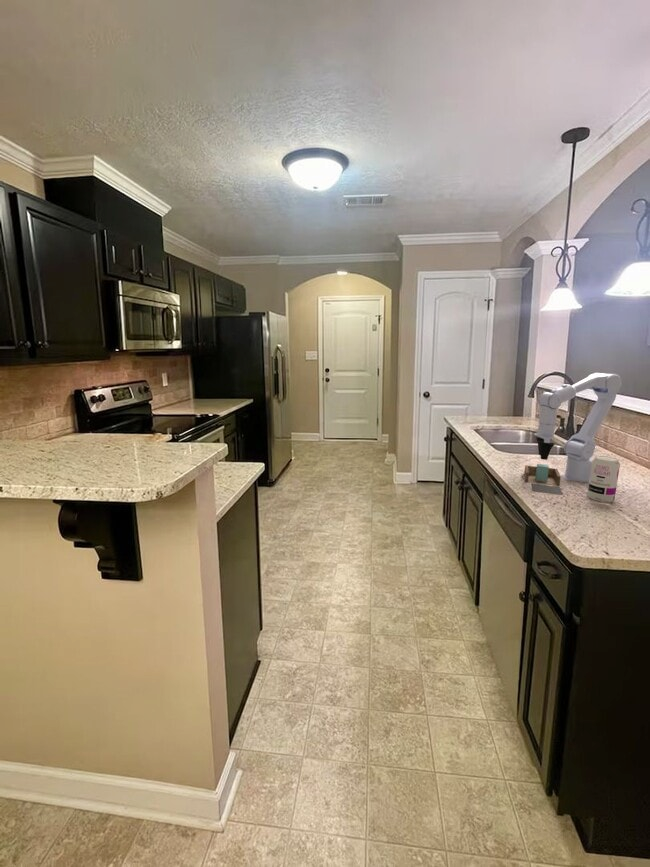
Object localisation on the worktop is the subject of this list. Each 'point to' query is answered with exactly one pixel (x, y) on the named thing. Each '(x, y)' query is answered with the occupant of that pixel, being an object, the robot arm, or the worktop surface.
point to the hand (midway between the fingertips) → (542, 457)
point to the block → (542, 472)
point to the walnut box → (552, 480)
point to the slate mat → (546, 489)
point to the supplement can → (603, 478)
